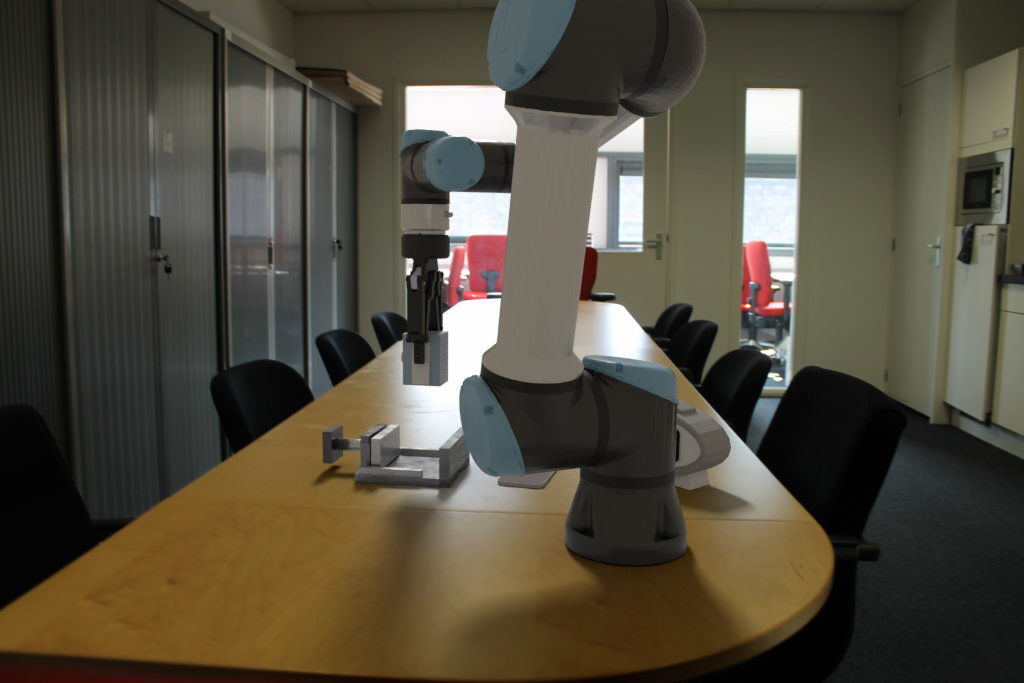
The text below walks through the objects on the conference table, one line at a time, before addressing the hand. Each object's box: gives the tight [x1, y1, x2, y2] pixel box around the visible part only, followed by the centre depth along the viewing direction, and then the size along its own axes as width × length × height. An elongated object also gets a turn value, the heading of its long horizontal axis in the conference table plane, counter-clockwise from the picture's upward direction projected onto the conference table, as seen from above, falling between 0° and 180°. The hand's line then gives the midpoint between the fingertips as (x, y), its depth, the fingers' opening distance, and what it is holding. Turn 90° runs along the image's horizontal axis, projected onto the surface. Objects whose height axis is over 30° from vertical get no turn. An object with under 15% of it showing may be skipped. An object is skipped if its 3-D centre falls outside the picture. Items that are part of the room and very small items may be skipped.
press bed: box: [354, 423, 471, 488], centre depth 134 cm, size 14×15×7 cm
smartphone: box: [497, 471, 557, 489], centre depth 134 cm, size 7×1×15 cm
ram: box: [321, 423, 401, 467], centre depth 135 cm, size 10×10×5 cm
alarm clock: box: [675, 398, 732, 491], centre depth 133 cm, size 23×6×13 cm, turn 40°
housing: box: [400, 330, 449, 387], centre depth 131 cm, size 5×7×8 cm
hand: (425, 380), depth 132 cm, fingers closed on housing, 5 cm apart
